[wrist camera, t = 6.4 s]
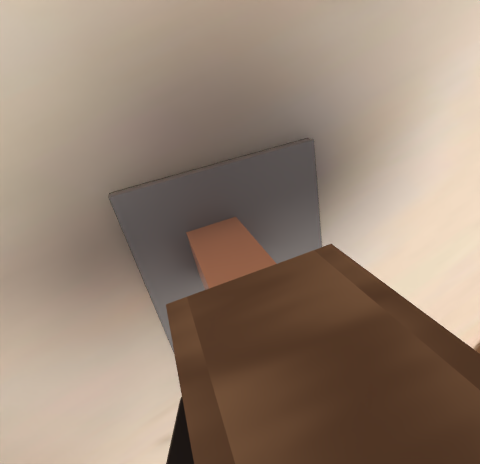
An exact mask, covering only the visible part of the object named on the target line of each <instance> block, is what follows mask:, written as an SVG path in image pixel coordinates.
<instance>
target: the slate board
mask: <svg viewBox="0 0 480 464" xmlns="http://www.w3.org/2000/svg"><path fill="white" fill-rule="evenodd" d="M109 200H110V202H111V205H112V207H113V209H114V212H115V214H116V216H117V219H118V221H119V224H120V226H121V228H122V231H123V233H124V235H125V238H126V240H127V243H128V245H129V247H130V250H131V252H132V254H133V257H134V259H135V262H136V264H137V266H138V269H139V271H140V273H141V276H142V278H143V281H144V283H145V285H146V288H147V290H148V292H149V295H150V297H151V300H152V302H153V304H154V307H155V309H156V311H157V314H158V316H159V319H160V321H161V323H162V326H163V328H164V330H165V333H166V335H167V337H168V340H169V342H170V345H171V347H172V349H173V352H174V348H173V342H172V337H171V331H170V326H169V320H168V314H167V309H166V304H168V303H171V302H174V301H176V300H179V299H182V298H185V297H187V296H190V295H193V294H195V293H198V292H201V291H204V290H205V288H204V286H203V283H202V281H201V278H200V275H199V272H198V269H197V266H196V263H195V259H194V256H193V253H192V250H191V247H190V243H189V240H188V237H187V234H186V232H189V231H192V230H195V229H198V228H202V227H205V226H208V225H211V224H214V223H217V222H220V221H223V220H227V219H230V218H233V217H237V219H238V220H239V221H240V222H241V223H242V224H243V225H244V227H245V228H246V229H247V230H248V231H249V232H250V234H251V235H252V236H253V237H254V238H255V239H256V240H257V242H258V243H259V244H260V245H261V246H262V247H263V249H264V250H265V251H266V252H267V253H268V254H269V255H270V257H271V258H272V259H273V260H274V261H275V262H276V264H278V263H280V262H283V261H286V260H288V259H291V258H294V257H297V256H299V255H302V254H305V253H308V252H310V251H313V250H316V249H319V248H321V247H322V241H321V228H320V215H319V202H318V189H317V176H316V163H315V150H314V140H313V139H309V138H306V139H303V140H299V141H296V142H292V143H288V144H285V145H281V146H278V147H274V148H270V149H267V150H263V151H260V152H256V153H253V154H249V155H245V156H242V157H238V158H235V159H231V160H227V161H224V162H220V163H217V164H213V165H210V166H206V167H202V168H199V169H195V170H192V171H188V172H185V173H181V174H177V175H174V176H170V177H167V178H163V179H159V180H156V181H152V182H149V183H145V184H142V185H138V186H134V187H131V188H127V189H124V190H120V191H116V192H113V193H109Z"/></svg>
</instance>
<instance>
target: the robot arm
mask: <svg viewBox="0 0 480 464" xmlns="http://www.w3.org/2000/svg"><path fill="white" fill-rule="evenodd" d="M166 464H194V460H193V455H192V449H191V443H190V438H189V432H188V427H187V421H186V415H185V410H184V404H183V399H182V397H181V399H180V403H179V408H178V412H177V417H176V421H175V426H174V430H173V435H172V440H171V444H170V449H169V453H168V458H167V462H166Z"/></svg>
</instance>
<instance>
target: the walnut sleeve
mask: <svg viewBox="0 0 480 464" xmlns="http://www.w3.org/2000/svg"><path fill="white" fill-rule="evenodd" d="M166 309H167V314H168V320H169V326H170V331H171V337H172V342H173V348H174V354H175V359H176V365H177V370H178V376H179V382H180V387H181V393H182V399H183V404H184V410H185V415H186V421H187V427H188V432H189V438H190V443H191V449H192V455H193V460H194V464H480V354H479V353H478V352H476V351H475V350H474V349H472V348H471V347H470V346H468V345H467V344H466V343H464V342H463V341H462V340H460V339H459V338H457V337H456V336H455V335H453V334H452V333H451V332H449V331H448V330H447V329H445V328H444V327H443V326H441V325H440V324H439V323H437V322H436V321H435V320H433V319H432V318H431V317H429V316H428V315H426V314H425V313H424V312H422V311H421V310H420V309H418V308H417V307H416V306H414V305H413V304H412V303H410V302H409V301H408V300H406V299H405V298H404V297H402V296H401V295H399V294H398V293H397V292H395V291H394V290H393V289H391V288H390V287H389V286H387V285H386V284H385V283H383V282H382V281H381V280H379V279H378V278H377V277H375V276H374V275H373V274H371V273H370V272H368V271H367V270H366V269H364V268H363V267H362V266H360V265H359V264H358V263H356V262H355V261H354V260H352V259H351V258H350V257H348V256H347V255H346V254H344V253H343V252H341V251H340V250H339V249H337V248H336V247H335V246H333V245H332V244H329V245H327V246H324V247H321V248H319V249H316V250H313V251H310V252H308V253H305V254H302V255H299V256H297V257H294V258H291V259H288V260H286V261H283V262H280V263H278V264H275V265H272V266H269V267H267V268H264V269H261V270H258V271H256V272H253V273H250V274H247V275H245V276H242V277H239V278H237V279H234V280H231V281H228V282H226V283H223V284H220V285H217V286H215V287H212V288H209V289H206V290H204V291H201V292H198V293H195V294H193V295H190V296H187V297H185V298H182V299H179V300H176V301H174V302H171V303H168V304H166Z"/></svg>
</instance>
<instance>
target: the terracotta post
mask: <svg viewBox="0 0 480 464" xmlns="http://www.w3.org/2000/svg"><path fill="white" fill-rule="evenodd" d="M186 234H187V237H188V240H189V243H190V247H191V250H192V253H193V256H194V259H195V263H196V266H197V269H198V272H199V275H200V278H201V281H202V283H203V286H204V288H205V290H206V289H209V288H212V287H215V286H217V285H220V284H223V283H226V282H228V281H231V280H234V279H237V278H239V277H242V276H245V275H247V274H250V273H253V272H256V271H258V270H261V269H264V268H267V267H269V266H272V265H275V264H276V262H275V261H274V260H273V259H272V258H271V257H270V255H269V254H268V253H267V252H266V251H265V250H264V249H263V247H262V246H261V245H260V244H259V243H258V242H257V240H256V239H255V238H254V237H253V236H252V235H251V234H250V232H249V231H248V230H247V229H246V228H245V227H244V225H243V224H242V223H241V222H240V221H239V220H238V219H237V217H233V218H230V219H227V220H223V221H220V222H217V223H214V224H211V225H208V226H205V227H202V228H198V229H195V230H192V231H189V232H186Z"/></svg>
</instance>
